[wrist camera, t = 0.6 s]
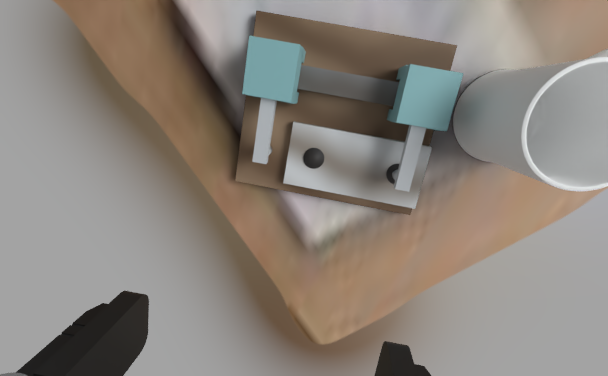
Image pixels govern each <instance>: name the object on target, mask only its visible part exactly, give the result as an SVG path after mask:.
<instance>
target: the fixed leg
mask: <svg viewBox="0 0 608 376" xmlns="http://www.w3.org/2000/svg"><path fill="white" fill-rule="evenodd" d="M462 76H463V73H459V72H453V71H447V70H442V69H436V68H430V67H425V66H419V65H413V64H409V65H405V66H403V67H401V68H399V70H398V74H397V78H396V80H400V81H399V86H398V90H397V94H396V98H395V102H394V106H393V110H392V109H389V112H388V116H387V120H388V121H391V122H395V123H400V124H406V125H409V128H408V132H407V136H406V140H405V144H404V148H403V152H402V156H401V160H400V164H399V167H398V170H395V171H394V172H393V173H392V177H393V178H394V180H395V183H394V188H395V189H397V190H402V191H408V192H409V190H410V187H411V183H412V179H413V175H414V172H415V168H416V164H417V161H418V157H419V153H420V150H421V146H422V142H423V138H424V135H425V131H426V128H427V129H433V130H438V131H440V130H441V131H447V129H448V125H449V122H450V118H451V115H452V111H453V108H454V104H455V101H456V97H457V94H458V90H459V87H460V83H461V80H462Z"/></svg>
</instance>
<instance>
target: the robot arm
mask: <svg viewBox="0 0 608 376" xmlns="http://www.w3.org/2000/svg"><path fill="white" fill-rule="evenodd" d="M148 305H149V300H148V296H147V295H144V294H139V293H133V292H128V291H123V292H121V293H120V294H119V295H118V296H117V297H116V298H115V299H113V300H112V301H111V302H110V303H109V304H104V303H102V304H100V305H98V306H96V307H95V308H93V309H90V310H88V311H86V312H85V313H84V314H83V315H82V316H80V317H79V318H78V319H77V320H76V321H75V322H73V324H72V326H71V325H70V326H69V327H68V328H67V329H65V330H64V331H63V332H62V334H61V335H59V336H57V337H56V338H55V339H54V340H53V341H52V342H51V343H49V344H48V345H47V346H46V347H45V348H44V349H42V350H41V351H40V352H39V353H38V354H37V355H36V356H34V357H33V358H32V359H31V360H30V361H29V362H27V363H26V364H25V365H24V366H23V367H22V368H21V369H19V370H18V371H17V372H16V373H6V374H1V375H0V376H123V375H124V374H125V372H126V371H127V370H128V369H129V367H130V366H131V364H132V363H133V362H134V361H135V359H136V358H137V356H138V355H139V354H140V352H141V351H142V349H143V347H144V345H145V343H146V339H147V335H148ZM375 376H431V375H430V373H429V372H428V371H427V369H426V368H425V367H424V366H421V365H415V364H414V362H413V359H412V355H411V352H410V348H409V347H408V346H407V345H402V344H397V343H392V342H386V341H385V342H384V343H383V346H382V349H381V353H380V357H379V361H378V365H377V368H376V373H375Z"/></svg>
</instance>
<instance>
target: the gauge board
mask: <svg viewBox="0 0 608 376" xmlns="http://www.w3.org/2000/svg"><path fill="white" fill-rule="evenodd" d="M253 36H255V37H261V38H266V39H272V40H278V41H283V42H289V43H295V44H300V45H301V46H302V47H303V48H304V50H305V51H306V54H305V60H304V63H302V64H301V70H300V76H299V82H298V88H297V92H299V96H298V102H297V103H296V104H292V103H286V102H281V101H277V103H276V110H275V116H274V123H273V130H272V136H271V143H270V146H271V147H272V153H271V154H270V155H269V156H268V163H267V164H262V163H257V162H252V160H253V153H254V146H255V138H256V131H257V124H258V116H259V109H260V102H261V98H259V97H254V96H248V95H246V99H245V107H244V115H243V123H242V131H241V139H240V147H239V155H238V163H237V171H236V179H235V181H238V182H243V183H249V184H254V185H259V186H264V187H269V188H274V189H279V190H284V191H290V192H295V193H300V194H305V195H310V196H315V197H320V198H326V199H331V200H336V201H341V202H346V203H351V204H356V205H362V206H367V207H372V208H377V209H382V210H387V211H392V212H397V213H403V214H408V215H410V214H411V210H412V208H414V209H415V207H416V204H417V200H418V197H419V193H420V190H421V186H422V182H423V179H424V175H425V172H426V168H427V164H428V161H429V157H430V154H431V150H432V147H430V146H429V145H430V142H431V138H432V134H433V131H434V130H433V129H427V128H426V131H425V135H424V138H423V142H422V146H421V150H420V153H419V157H418V161H417V164H416V168H415V172H414V175H413V179H412V183H411V187H410V190H409V192H408V191H402V190H397V189H395V188H394V183H395V180H394V178H393V177H392V173H393V172H394V171H395V170H398V167H399V164H400V160H401V156H402V152H403V148H404V144H405V140H406V136H407V132H408V128H409V125H406V124H400V123H395V122H391V121H388V120H387V116H388V112H389V109H392V110H393V106H394V102H395V98H396V94H397V90H398V86H399V81H400V80H396V78H397V74H398V70H399V68H401V67H403V66H405V65H409V64H413V65H419V66H425V67H430V68H436V69H442V70H447V71H450V69H451V66H452V62H453V59H454V55H455V51H456V48H457V45H451V44H446V43H440V42H434V41H428V40H423V39H417V38H411V37H405V36H400V35H394V34H388V33H382V32H377V31H371V30H365V29H359V28H354V27H348V26H342V25H336V24H331V23H325V22H319V21H313V20H307V19H302V18H296V17H290V16H284V15H279V14H273V13H267V12H261V11H256V19H255V27H254V35H253Z"/></svg>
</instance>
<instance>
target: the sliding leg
mask: <svg viewBox="0 0 608 376" xmlns="http://www.w3.org/2000/svg"><path fill="white" fill-rule="evenodd" d="M305 54H306V51H305V50H304V48H303V47H302V46H301V45H300V44H295V43H289V42H283V41H278V40H272V39H266V38H261V37H255V36H249V42H248V51H247V59H246V67H245V75H244V83H243V92H242V94H246V95H248V96H254V97H259V98H261V102H260V109H259V116H258V124H257V131H256V138H255V146H254V153H253V160H252V162H257V163H262V164H267V163H268V156H269V155H270V154H271V153H272V147H271V146H270V143H271V136H272V130H273V123H274V116H275V110H276V103H277V101H281V102H286V103H292V104H296V103H297V102H298V96H299V92H297V88H298V82H299V76H300V70H301V64H302V63H304V60H305Z"/></svg>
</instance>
